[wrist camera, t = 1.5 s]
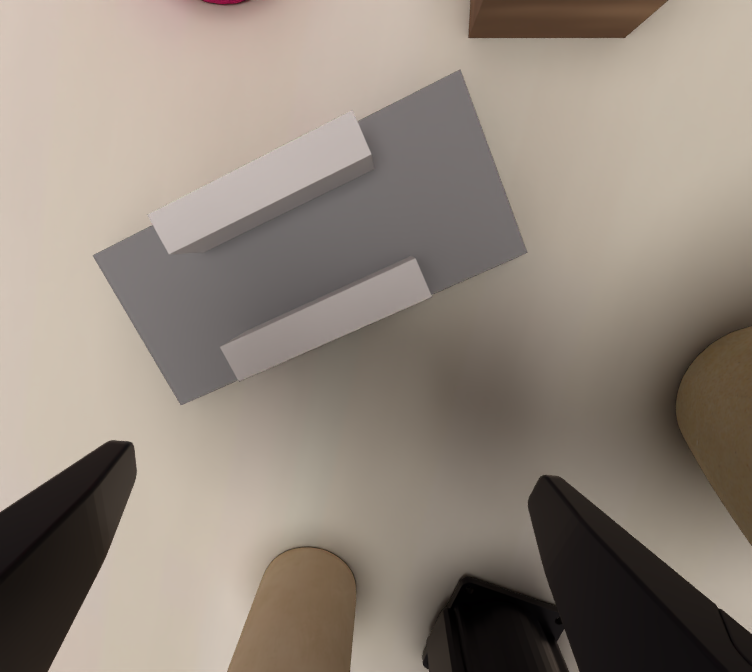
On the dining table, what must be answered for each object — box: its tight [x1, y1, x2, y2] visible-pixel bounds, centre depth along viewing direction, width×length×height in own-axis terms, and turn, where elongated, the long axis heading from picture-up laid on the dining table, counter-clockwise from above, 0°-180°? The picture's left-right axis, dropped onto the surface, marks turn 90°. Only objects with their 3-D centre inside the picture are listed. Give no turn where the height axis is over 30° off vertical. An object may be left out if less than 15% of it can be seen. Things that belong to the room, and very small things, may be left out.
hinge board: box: [93, 70, 527, 405], centre depth 17 cm, size 8×18×4 cm, turn 114°
